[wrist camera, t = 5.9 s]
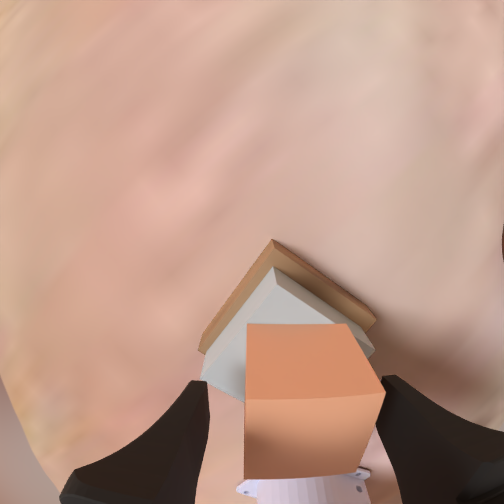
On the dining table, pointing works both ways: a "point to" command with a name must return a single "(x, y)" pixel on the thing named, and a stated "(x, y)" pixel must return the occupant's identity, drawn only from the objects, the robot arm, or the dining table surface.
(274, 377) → the peach foam cube
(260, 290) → the top slab
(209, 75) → the dining table surface
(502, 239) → the food container
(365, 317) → the bottom slab
